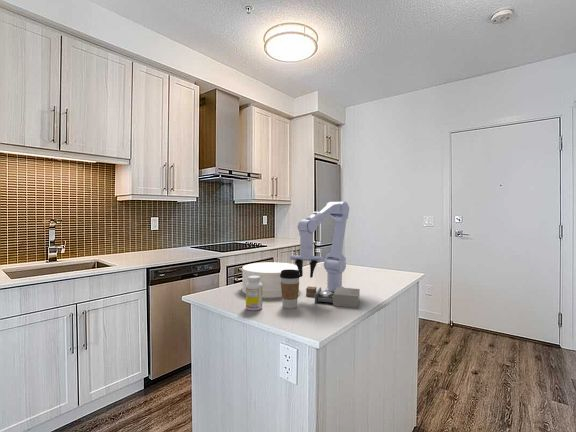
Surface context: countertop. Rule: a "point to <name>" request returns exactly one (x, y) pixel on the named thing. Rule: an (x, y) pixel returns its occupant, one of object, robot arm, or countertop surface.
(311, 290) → the brown cube
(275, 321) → the countertop surface
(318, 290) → the tray
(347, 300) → the block
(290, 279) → the coffee cup
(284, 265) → the plate stack
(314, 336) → the countertop surface
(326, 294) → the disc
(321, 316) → the countertop surface
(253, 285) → the supplement bottle
